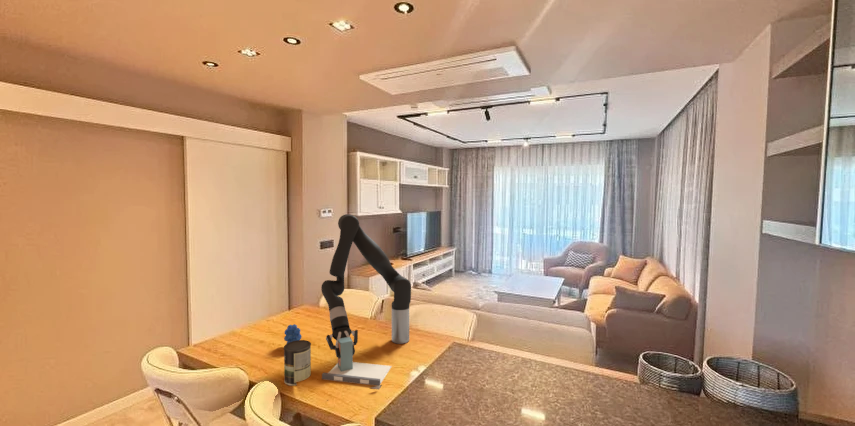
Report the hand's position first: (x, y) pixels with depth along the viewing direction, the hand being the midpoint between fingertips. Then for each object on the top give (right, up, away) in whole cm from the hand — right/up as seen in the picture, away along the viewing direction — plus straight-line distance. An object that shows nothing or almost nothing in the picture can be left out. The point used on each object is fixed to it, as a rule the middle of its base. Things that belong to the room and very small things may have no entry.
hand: (346, 356), depth 143 cm
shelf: (+5, -7, -2) cm, 9 cm away
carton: (-1, -6, +2) cm, 6 cm away
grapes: (-32, -6, +26) cm, 41 cm away
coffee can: (-19, -7, -5) cm, 21 cm away
